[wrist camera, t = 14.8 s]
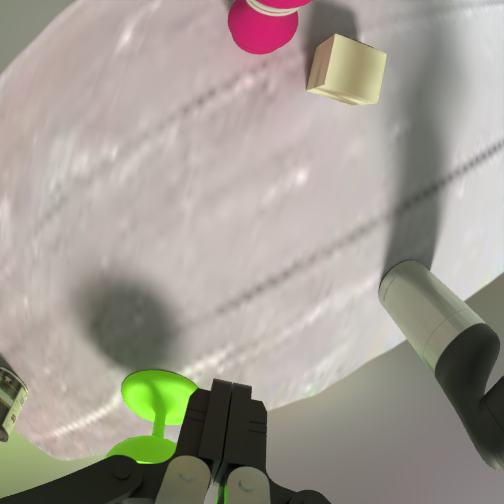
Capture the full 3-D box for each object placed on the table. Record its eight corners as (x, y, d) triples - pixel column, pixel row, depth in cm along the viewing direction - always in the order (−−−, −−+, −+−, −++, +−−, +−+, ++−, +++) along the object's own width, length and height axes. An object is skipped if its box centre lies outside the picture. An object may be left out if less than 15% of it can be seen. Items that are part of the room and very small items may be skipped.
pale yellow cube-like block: (361, 59, 31) (387, 50, 25) (351, 105, 34) (377, 103, 27) (316, 44, 30) (336, 29, 24) (306, 90, 33) (324, 84, 26)
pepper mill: (245, -2, 27) (266, -100, 9) (299, 23, 29) (367, -53, 10) (216, 42, 29) (207, -39, 11) (271, 68, 31) (322, 11, 13)
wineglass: (104, 379, 48) (79, 460, 31) (179, 360, 47) (169, 455, 30) (150, 427, 54) (141, 500, 38) (220, 414, 53) (223, 495, 37)
